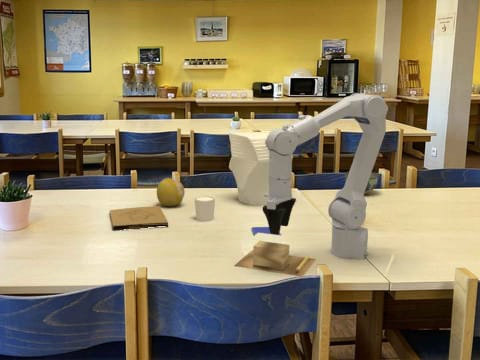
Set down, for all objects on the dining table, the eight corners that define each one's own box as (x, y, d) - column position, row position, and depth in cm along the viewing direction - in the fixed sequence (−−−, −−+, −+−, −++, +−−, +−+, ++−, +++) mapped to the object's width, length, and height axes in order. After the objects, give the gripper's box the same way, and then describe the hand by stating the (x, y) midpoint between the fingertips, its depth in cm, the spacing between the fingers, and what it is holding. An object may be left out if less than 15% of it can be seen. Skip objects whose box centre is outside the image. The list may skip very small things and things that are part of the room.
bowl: (352, 188, 231) (353, 169, 230) (382, 192, 224) (384, 173, 222) (338, 194, 220) (338, 175, 219) (369, 199, 213) (370, 179, 211)
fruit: (167, 210, 194) (167, 183, 192) (151, 204, 202) (150, 178, 200) (191, 206, 201) (190, 179, 199) (174, 200, 209) (173, 174, 207)
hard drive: (283, 238, 161) (277, 226, 173) (256, 239, 161) (251, 226, 173) (283, 243, 162) (277, 231, 174) (256, 244, 161) (251, 231, 173)
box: (109, 214, 191) (109, 208, 190) (159, 211, 195) (159, 205, 195) (112, 232, 171) (112, 225, 170) (168, 228, 175) (168, 221, 175)
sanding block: (288, 265, 139) (289, 244, 138) (283, 271, 135) (284, 250, 134) (259, 261, 142) (259, 240, 141) (253, 266, 138) (253, 246, 137)
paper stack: (224, 197, 215) (224, 131, 209) (288, 192, 223) (290, 129, 217) (240, 210, 195) (241, 139, 190) (310, 205, 203) (312, 136, 198)
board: (315, 263, 144) (316, 259, 144) (302, 281, 132) (302, 276, 132) (251, 254, 151) (252, 250, 151) (233, 270, 139) (233, 265, 139)
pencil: (306, 258, 144) (307, 255, 144) (309, 258, 144) (309, 256, 144) (294, 273, 134) (294, 270, 134) (297, 273, 134) (297, 270, 134)
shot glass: (219, 218, 185) (219, 198, 183) (204, 223, 180) (204, 202, 179) (205, 214, 189) (205, 195, 188) (190, 218, 185) (190, 198, 183)
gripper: (273, 171, 145) (273, 220, 148) (255, 182, 132) (254, 236, 135) (299, 173, 143) (298, 223, 146) (283, 184, 130) (282, 239, 133)
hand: (279, 229), depth 140 cm, fingers open, 7 cm apart
